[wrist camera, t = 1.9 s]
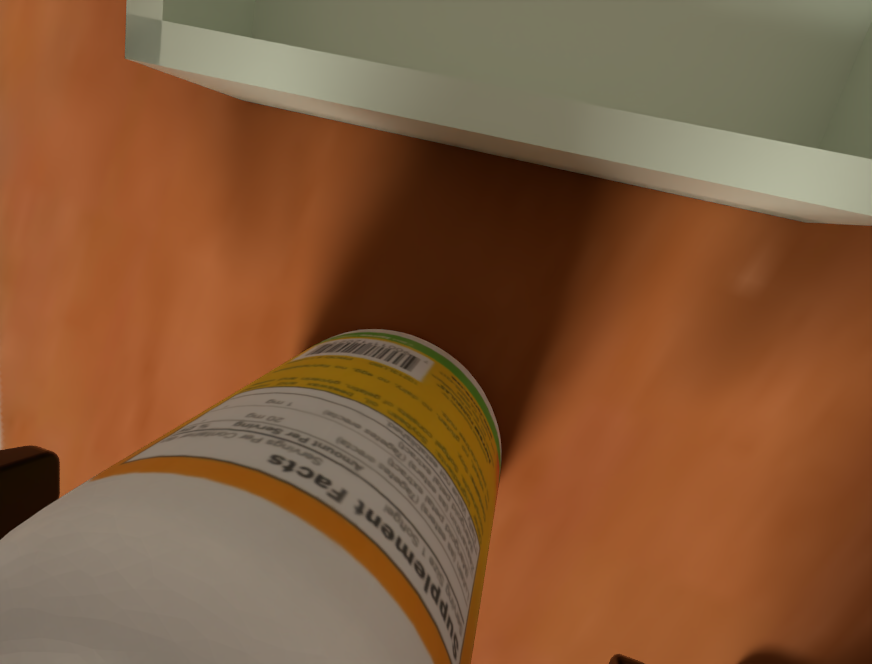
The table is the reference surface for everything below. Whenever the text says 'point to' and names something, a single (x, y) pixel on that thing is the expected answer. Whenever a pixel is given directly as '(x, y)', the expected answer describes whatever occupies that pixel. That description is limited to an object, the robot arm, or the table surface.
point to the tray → (565, 84)
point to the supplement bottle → (276, 525)
